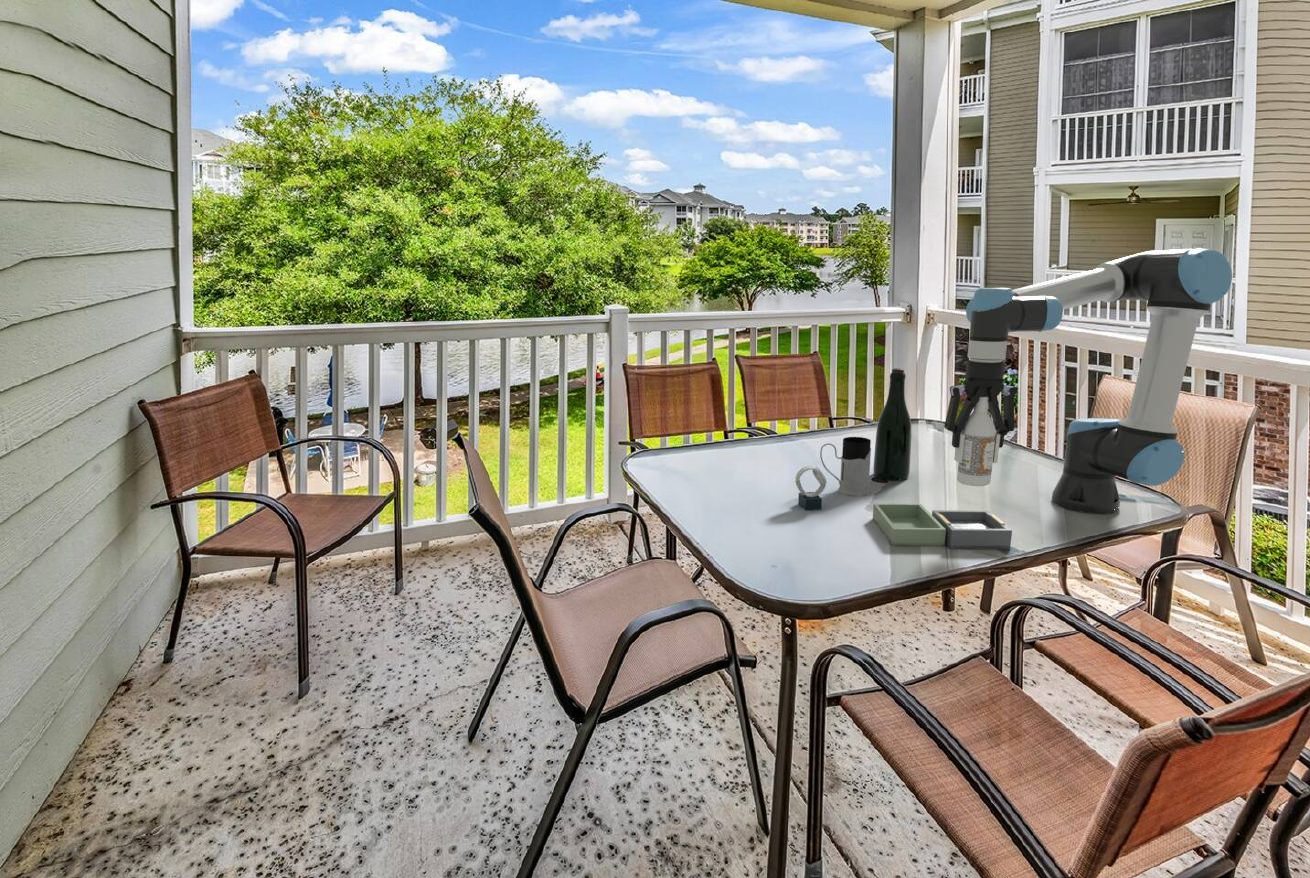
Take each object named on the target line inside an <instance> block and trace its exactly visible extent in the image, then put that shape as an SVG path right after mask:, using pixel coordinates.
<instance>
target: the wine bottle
mask: <svg viewBox="0 0 1310 878" xmlns="http://www.w3.org/2000/svg"><path fill="white" fill-rule="evenodd" d="M906 379H907V378H906V373H905V369H904V368H900V367H899V368H892V369H891V372H890V373H889V388H888V394H887V399H886V402H885V404H884V407H883V409H882V411H881V414H880V415H879V417H878V421H877V424H876V430H875V431H876V433H875V442H874V455H873V456H874V457H873V465H872V466H873V468H872V469H873V471H872V474H873V475H874V476H875V477H876V478H878V479H881V480H885V481H886V480H887V481H903V480H907V479H908V478H909V477H910V472H911V457H912V456H911V454H912V440H913V439H912V438H913V435H912V434H913V433H912V431H913V429H912V421H911V420H912V419H911V416H910V413H909V410H908V406H907V404H906V403H907V402H906V396H905V394H906V393H905V391H906V390H905V389H906V387H905V384H906Z"/></svg>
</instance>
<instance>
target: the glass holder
mask: <svg viewBox="0 0 1310 878" xmlns="http://www.w3.org/2000/svg"><path fill="white" fill-rule="evenodd" d="M871 441H872V440H871V439H870V438H868V437H862V436H847V437H844V438H843V439H842V454H841V455H842V456H840V457H839V456H838V453H837V448H836V446H835V445H834V444H833V443H829V442H828V443H825V444H823V445H822V446H821V448H820V453H819V455H820V461H821V463H822V466H823V468H824V469H825V470H826V471H827V473H829V474H830V475H831V476H833V478H834V479H836V480H837V481H838V485H839V487H838V492H839V493H841V494H843V495H848V496H856V497H857V496H858V497H859V496H860V497H861V496H867V495H869V494H870V493H871V490H870V487H869V486H870V473H871V472H870V471H871V469H870V468H871V455H872V454H871V453H872V448H871V444H872V443H871ZM826 446H832V447H833V449H834V455H835V458H836V459H838V460H839V459H840V461H841V462H840V479H839V478H838V476H836V475H835V474H834V473H833V472H831V470H829V469H828V467H826V464H825V463H824V460H823V457H822V456H823V455H822V452H823V448H824V447H826Z"/></svg>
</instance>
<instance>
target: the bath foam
mask: <svg viewBox="0 0 1310 878" xmlns="http://www.w3.org/2000/svg"><path fill="white" fill-rule="evenodd" d="M988 411H989V403H988V397H980V399H979V402H978V403H977V404H976V406H975V407H974V408H973V410H972V412H971V414H970V416H969V418H968V420H967V422H966V424H965V426H964V428H963V430H962V432H961V433H963V434H965V438H964V448H963V458H962V463H958V462H957V465H958V466H957V475H956V476H957V477H956V479H957V481H958V483H960V484H962V485H966V486H971V487H985V486H989V485H990V483H991V480H992V472H993V464H994V463H993V454H994V445H995V436H996V430H995V425H994V423H993V419H992V416H991V414H989V412H988Z"/></svg>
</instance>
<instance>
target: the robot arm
mask: <svg viewBox="0 0 1310 878" xmlns="http://www.w3.org/2000/svg"><path fill="white" fill-rule="evenodd" d="M1232 271H1233V270H1232V266H1231V263H1230V262H1229V261H1228V260H1227V257H1226V256H1225V255H1224V254H1223V253H1221V252H1220V251H1218V250H1217V249H1212V248H1198V247H1197V248H1194V247H1192V248H1181V249H1164V250H1163V249H1160V250H1157V249H1156V250H1148V251H1143V252H1139V253H1135V254H1132V255H1131V254H1130V255H1129V256H1125V257H1121V258H1118V259H1114V260H1111V261H1106V262H1103V263H1101V264H1099V265H1097V266H1096V267H1095V268H1094V269H1093V270H1092V269H1091V270H1088V271H1084V272H1083V271H1082V272H1080V273H1076V274H1072V275H1067V276H1063V277H1060V278H1057V279H1056V278H1055V279H1051V280H1048V281H1047V280H1046V281H1043V282H1038V283H1035V284H1030V285H1026V286H1023V287H1020V288H1014V289H1012V288H1011V287H979V288H977V289H976V290H975V291H974V294H973V297H972V298H971V299H970V300H969V301H968V303H967V305H966V308H965V312H966V313H965V315H966V318H967V320H968V322H969V323H970V326H969V327H970V328H969V339H968V347H967V348H968V349H967V350H968V351H967V358H968V360H967V361H966V368H965V380H964V382H963V383H962V384H961V385H957V386H955V385H951V386H950V387H949V394H950V398H949V399H950V400H949V402H948V408H947V412H946V418H945V422H944V429H945V430H947V431H948V432H952V436H951V437H952V438H951V446H952V447H953V448H954V455H953V457H954V459H953V460H954V461H956V462H957V464H958V463H962V458H963V448H964V438H965V434H963V433H961V432H962V430H963V428H964V426H965V424H966V422H967V420H968V418H969V416H970V415H971V414H972V412H973V411H974V407H975V406H976V404H977V403H978V402H979V399H980V397H988V403H989V405H988V410H989V412H990V417H991V419H992V421H993V423H994V425H995V431H996V436H995V445H994V454H993V464H998V458H999V450H1000V449H1001V448H1003V446H1004V441H1005V440H1004V439H1005V436H1006V435H1007V433H1008V432H1013V431H1014V430H1015V397H1016V394H1017V391H1018V389H1017V387H1014V386H1011V385H1005V384H1004V381H1003V380H1004V373H1005V366H1006V365H1005V364H1006V363H1005V362H1004V361H1003V360H1005V359H1006V358H1007V348H1008V338H1009V334H1010V333H1013V332H1038V333H1040V332H1048V331H1051V330H1054V329H1056V328H1057V327H1058V326H1059V325H1060V323H1061V322H1062V319H1063V313H1064V311H1065V310H1068V309H1071V308H1075V307H1080V306H1084V305H1087V304H1091V303H1095V302H1100V301H1101V302H1104V303H1113V302H1118V301H1125V300H1126V301H1147V302H1146V309H1147V311H1148V312H1149V313H1150V314H1151V319H1150V323H1149V324H1150V325H1149V328H1148V333H1147V335H1146V340H1145V344H1144V349H1143V353H1142V357H1141V361H1140V365H1139V369H1138V373H1137V377H1136V382H1135V386H1134V390H1133V394H1132V398H1131V401H1130V402H1131V403H1130V406H1129V410H1128V414H1127V416H1126V417H1125V418H1123V419H1117V418H1101V417H1098V418H1097V417H1096V418H1094V417H1093V418H1077V419H1074V420H1072V421H1071V422H1070V423H1069V427H1068V430H1067V433H1066V443H1065V449H1064V451H1065V452H1064V458H1063V459H1064V460H1063V468H1062V469H1063V470H1062V474H1061V476H1060V478H1059V480H1058V481H1057V483H1056V485H1055V487H1054V489H1053V491H1052V493H1051V494H1052V495H1051V502H1052V503H1053V504H1055V505H1056V506H1058V507H1060V508H1063V509H1066V510H1070V511H1075V512H1079V513H1086V514H1094V515H1095V514H1097V515H1100V514H1101V515H1102V514H1103V515H1105V514H1113V513H1117V512H1118V511H1119V510H1120V507H1121V506H1120V505H1121V500H1120V495H1119V491H1118V487H1117V484H1116V483H1117V482H1116V477H1119V478H1122V479H1123V480H1127V481H1130V482H1131V483H1134V484H1140V485H1144V486H1147V487H1148V486H1149V487H1157V486H1161V485H1163V484H1166V483H1167V482H1169V481H1170V480H1171V479H1173V478H1174V477H1175V476H1176V475H1177V474H1178V472H1179V471H1180V470H1181V469H1182V466H1183V465H1184V462H1185V456H1186V454H1185V453H1186V452H1185V450H1184V447H1183V445H1182V444H1181V443H1179V442H1178V441H1177V436H1178V433H1179V431H1178V430H1177V428H1176V427H1175V426H1174V424H1173V419H1174V417H1175V413H1176V409H1177V408H1176V407H1177V405H1178V400H1179V396H1180V392H1181V389H1182V384H1183V380H1184V378H1185V374H1186V369H1187V365H1188V362H1189V358H1190V353H1191V350H1192V346H1193V342H1194V339H1195V334H1196V331H1197V327H1198V322H1199V320H1200V319H1201V318H1202V317H1204V316H1206V315H1207V314H1209V313H1210V310H1211V306H1212V304H1214V303H1217V302H1219V301H1221V300H1222V299H1223V298H1224V296H1225V295H1227V294H1228V292H1229V290H1230V288H1231V285H1232V280H1233V272H1232ZM963 392H965V394H966V398H965V400H964V404H963V405H962V408H961V410H960V411H959V406H960V402H961V396H962V395H963ZM1001 393H1002V395H1003V416H1002V413H1001V409H1000V406H999V405H1000V403H999V399H998V396H999V395H1000V394H1001ZM958 411H959V414H958ZM957 415H958V416H957ZM1118 507H1119V508H1118ZM1114 509H1115V510H1114Z"/></svg>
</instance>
